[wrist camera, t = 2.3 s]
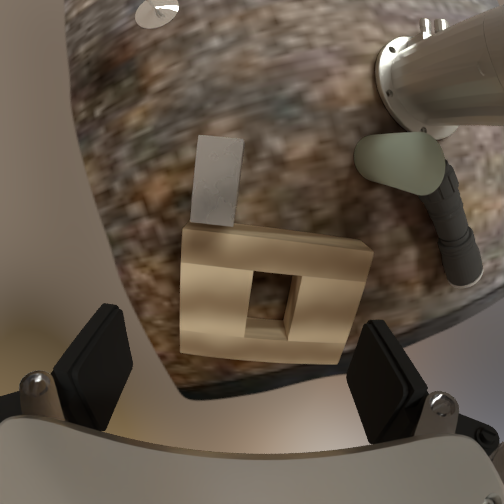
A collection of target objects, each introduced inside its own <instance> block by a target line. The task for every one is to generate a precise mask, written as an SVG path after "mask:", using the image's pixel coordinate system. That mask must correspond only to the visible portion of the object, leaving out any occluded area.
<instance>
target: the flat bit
mask: <svg viewBox="0 0 504 504" xmlns="http://www.w3.org/2000/svg"><path fill="white" fill-rule="evenodd" d="M244 146H245V142H244V139H237V138H228V137H217V136H205V135H199V136H198V144H197V153H196V162H195V172H194V182H193V193H192V204H191V217H190V222H194V223H203V224H212V225H221V226H230V227H233V225H234V219H235V213H236V208H237V202H238V193H239V185H240V177H241V169H242V161H243V154H244Z"/></svg>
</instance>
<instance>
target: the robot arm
mask: <svg viewBox="0 0 504 504" xmlns="http://www.w3.org/2000/svg"><path fill="white" fill-rule="evenodd" d="M419 23H420V31H421V33H419V35H417V36H415V37H411V36H403V37H398V38H395V39H393V40H391V41H390V42H388V43H387V44H386V45H385V46H384V47H383V48H382V49H381V51H380V53H379V54H378V57H377V60H376V65H375V77H376V84H377V88H378V91H379V94H380V97H381V99H382V101H383V103H384V105H385V107H386V108H387V110H388V112H389V113H390V115H391V116H392V117H393V118H394V119H395V121H396V122H397V123H398V124H399V125H400V126H401V127H403V128H404V129H405V130H406V131H408V132H424V133H427V134H429V135H431V136H432V137H433V138H434V139H435V140H439V139H444V138H446V137H449V136H450V135H452V134H453V133H454V132H455V131H456V130H457V128H458V127H459V126H460V125H485V126H504V5H501V6H498V7H496V8H493V9H490V10H488V11H486V12H483V13H481V14H478V15H476V16H473V17H471V18H469V19H466V20H464V21H462V22H459V23H457V24H455V25H453V26H450V27H449V24H448V22H447V21H445V20H442V19H435V20H434V28H435V34H433V35H431V22H430V21H429V20H428V19H425V18H421V19H420V20H419ZM386 93H387V94H388V96H387V94H386ZM132 367H133V361H132V356H131V352H130V347H129V342H128V338H127V332H126V327H125V322H124V316H123V311H122V310H121V309H119V307H118V306H117V305H113V304H106V303H104V304H102V305H101V307H100V308H99V309H98V310H97V311H96V313H95V314H94V315H93V316H92V318H91V319H90V320H89V322H88V323H87V324H86V325H85V326H84V328H83V329H82V330H81V332H80V333H79V334H78V335H77V337H76V338H75V340H74V341H73V342H72V343H71V345H70V346H69V347H68V349H67V350H66V351H65V353H64V354H63V355H62V357H61V358H60V360H59V361H58V362H57V364H56V365H55V366H54V368H53V369H54V370H53V371H52V373H51V374H49V373H48V372H46V371H33V372H30V373H28V374H27V375H25V377H23V378H22V380H21V382H20V384H19V391H17V392H14V393H11V394H7V395H4V396H0V504H504V442H502V443H501V444H500V443H499V436H498V433H497V432H496V430H495V429H494V428H493V427H491V426H489V425H487V424H484V423H482V422H479V421H477V420H474V419H472V418H469V417H467V416H464V415H461V414H459V405H458V403H457V401H456V400H455V399H454V397H452V396H451V395H450V394H448V393H446V392H442V391H435V392H432V393H430V394H429V393H428V392H427V389H428V387H427V385H426V384H425V382H424V380H423V379H422V377H421V376H420V374H419V372H418V371H417V369H416V368H415V366H414V365H413V363H412V362H411V360H410V359H409V357H408V356H407V354H406V353H405V351H404V349H403V348H402V346H401V345H400V344H399V342H398V341H397V339H396V338H395V336H394V335H393V333H392V332H391V330H390V329H389V327H388V326H387V325H386V323H385V322H384V321H383V320H369V321H368V322H367V324H364V325H363V328H362V331H361V334H360V337H359V340H358V343H357V346H356V349H355V352H354V355H353V358H352V361H351V363H350V366H349V369H348V372H347V376H346V378H347V383H348V386H349V388H350V391H351V394H352V396H353V399H354V402H355V405H356V408H357V410H358V413H359V416H360V419H361V422H362V424H363V427H364V430H365V433H366V436H367V439H368V442H369V443H370V444H372V445H366V446H361V447H353V448H347V449H339V450H331V451H320V452H308V453H289V454H242V453H223V452H211V451H201V450H192V449H183V448H177V447H169V446H163V445H158V444H153V443H148V442H143V441H138V440H134V439H129V438H125V437H120V436H117V435H113V434H109V433H105V432H101V431H105V430H106V428H107V426H108V424H109V421H110V419H111V416H112V414H113V412H114V409H115V407H116V404H117V402H118V400H119V397H120V395H121V393H122V390H123V388H124V386H125V384H126V381H127V379H128V377H129V375H130V372H131V370H132Z"/></svg>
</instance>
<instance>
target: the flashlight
mask: <svg viewBox="0 0 504 504" xmlns="http://www.w3.org/2000/svg"><path fill="white" fill-rule="evenodd" d="M458 184H459V183H458V180H457V177H456V175H455V172H454V170H453V167H452V166H451V165H449V164H448V162H447V160H446V159H445V174H444V177H443V180H442V182H441V184H440V186H439V187H438V188H437V189H436V190H435V191H434V192H432V193H430V194H428V195H418V197H419V199H420V200H421V201H422V202H423V203H424V205H425V207H426V209H427V212H428V213H429V216H430V218H431V219H432V221H433V223H434V226H435V229H436V231H437V234H438V236H439V239H438V246H439V249H440V252H441V254H442V263H443V266H444V269H445V273H446V276H447V279H448V282H449V284H450V285H451V286H453V287H455V288H467V287H470V286H472V285H474V284H475V283H477V282H478V281H479V279H480V278H481V276H482V274H483V266H482V261H481V256H480V251H479V248H478V246H477V245H476V243H475V238H474V234H473V230H472V229H471V228H470V227H469V226H468V223H467V219H466V216H465V213H464V209H463V203H462V201H461V197H460V193H459V190H458V186H459V185H458Z"/></svg>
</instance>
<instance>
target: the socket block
mask: <svg viewBox="0 0 504 504" xmlns="http://www.w3.org/2000/svg"><path fill="white" fill-rule="evenodd" d="M373 255H374V251H372V250H371V249H370V248H369V247H368V246H367V245H365V244H364V243H363V242H362V241H361V240H359V239H352V238H345V237H338V236H331V235H324V234H316V233H309V232H301V231H294V230H286V229H278V228H270V227H262V226H254V225H246V224H237V223H234V225H233V227H230V226H221V225H212V224H203V223H194V222H190V220H189V221H188V223H187V224H186V225H185V226H184V228H183V230H182V249H181V275H180V353H186V354H193V355H200V356H208V357H217V358H226V359H235V360H246V361H259V362H274V363H294V364H338V362H339V359H340V357H341V354H342V351H343V349H344V346H345V343H346V341H347V338H348V335H349V332H350V330H351V327H352V324H353V321H354V318H355V315H356V312H357V309H358V306H359V303H360V300H361V296H362V293H363V290H364V287H365V283H366V280H367V277H368V273H369V269H370V266H371V262H372V259H373ZM253 271H260V272H269V273H279V274H288V275H293V276H292V281H291V286H290V291H289V296H288V301H287V306H286V310H285V315H284V319H283V320H272V319H261V318H250V317H247V313H248V306H249V299H250V292H251V285H252V278H253Z"/></svg>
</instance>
